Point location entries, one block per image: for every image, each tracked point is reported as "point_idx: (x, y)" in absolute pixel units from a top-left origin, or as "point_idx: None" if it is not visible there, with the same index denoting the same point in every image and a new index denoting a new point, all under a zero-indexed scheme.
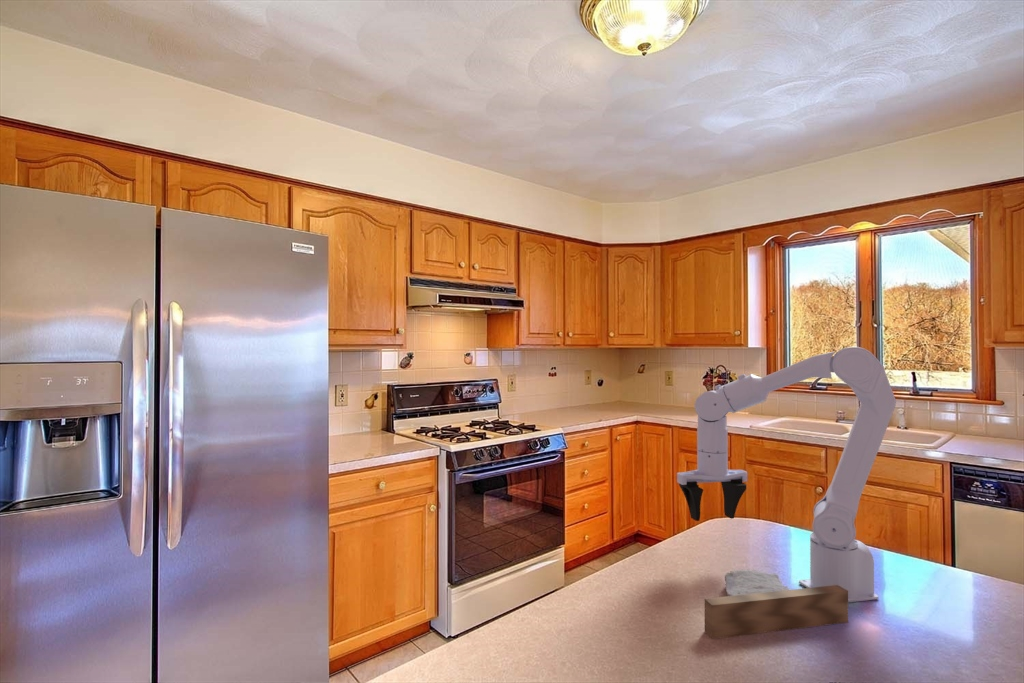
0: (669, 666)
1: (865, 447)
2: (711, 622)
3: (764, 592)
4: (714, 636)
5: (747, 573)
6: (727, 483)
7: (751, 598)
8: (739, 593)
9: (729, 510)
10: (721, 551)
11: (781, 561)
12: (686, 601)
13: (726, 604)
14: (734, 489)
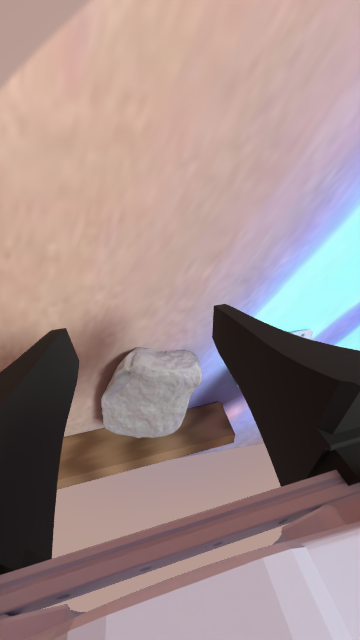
0: None
1: None
2: None
3: (140, 434)
4: None
5: (153, 384)
6: (309, 442)
7: (101, 474)
8: (112, 417)
9: (224, 344)
10: (203, 188)
11: (288, 262)
12: None
13: (59, 488)
14: (278, 459)
